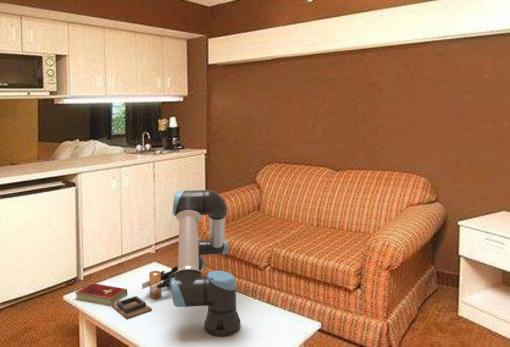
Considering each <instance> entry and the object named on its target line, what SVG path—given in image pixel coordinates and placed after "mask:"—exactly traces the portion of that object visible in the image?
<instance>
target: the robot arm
mask: <svg viewBox="0 0 510 347" xmlns="http://www.w3.org/2000/svg"><path fill="white" fill-rule="evenodd" d="M172 203H173V204H172V215H173V216H174V217H175V219H176V220H177V221H178V222H179V224H178V255H177V256H178V257H177V259H178V260H177V261H178V262H177V265H175V266H173V267H172V268H171V270H170V271H166V272H165V270H162V271H160V272H161V282H159V283H157V284H155V285H152V286H151V292H153V291H155V290H158V289H160V288H161V289H162V288H165V287H166V288H170V290H171V291H170V292H171V298H172V303H173V304H172V305H173V306H175V307H176V308H190V307H207V308H208V309H207V314H206V317H205V320H204V321H203V322H204V323H203V324H204V325H203V328H204V331H205V332H206V333H207V334H208V335H210V336H214V337H228V336H232V335H234V334H236V333H238V332H239V331H240V330H241V319H240V315H239V313H238V311H237V291H236V290H237V284H236V283H237V281H236V280H237V279H236V277H235V276H234V275H233V274H232V273H231V272H227V271H225V270H213V271H209V272H208V273H207V276H203V272H202V270H203V269H205V266H206V263H205V260H204V258H203V257H202V256H206V255H208V256H209V255H226V254H228V252H229V249H228V247H229V246H228V240H226V239H225V231H226V230H225V226H226V223H225V222H226V220H225V219H226V218H227V215H228V206H227V203H226V201H225V199H224V198H223V196H221V195H220V194H219V193H218V192H216V191H214V190H210V189H205V190H204V189H199V190H197V189H196V190H187V189H186V190H178V191H177V192H175V194H174V198H173V202H172ZM203 216H208V217H209V240H201V237H199V222H200V221H201V220H202V217H203ZM146 288H150V282H149V279H148V280H146V281H144V282H142V283H141V289H142V290H144V289H146Z"/></svg>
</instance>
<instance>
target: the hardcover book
mask: <svg viewBox="0 0 510 347" xmlns="http://www.w3.org/2000/svg"><path fill="white" fill-rule="evenodd" d="M74 294H75V295H76V296H75V297H76V300H79V301H80V300H81V301H85V302H86V301H87V302H90V301H91V303H97V304H101V305H107V306H112V304H115V303H117V302H119V301H121V300H122V299H123V298H125V297H126V296H128V289H127V288H123V287H117V286H111V285H105V284H100V283H95V282H94V283H93V282H91V283H89V284H87V285H86V286H84V287H82V288H80V289H78V290H77V291H75V292H74Z"/></svg>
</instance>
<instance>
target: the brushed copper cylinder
mask: <svg viewBox="0 0 510 347" xmlns="http://www.w3.org/2000/svg"><path fill="white" fill-rule="evenodd" d="M161 272H162V271H160V270H154V271H153V270H151V271H150V272H149V273H148V274H149V275H148V277H149V279H148V280H149V282H150V286H149V297H150V299H152V300H157V299H160V298H162V291H163V290H162V288H160V289H158V290H155V291H153V292H151V286H152V285H155V284H157V283H159V282H162V281H161Z"/></svg>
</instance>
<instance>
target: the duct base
mask: <svg viewBox="0 0 510 347" xmlns="http://www.w3.org/2000/svg"><path fill="white" fill-rule="evenodd" d="M111 308H113V309H114V310H115V311H117V313H119V314H120V315H121V316H123V318H124V319H126V320H129V319H132V318H135V317H138V316H140V315H144V314H146V313H149V312H152V311H153V308H152V307H150V306H149V305H148V304H147V303H146V301H144V300H142V298H140V297H139V296H137V295H136V296H132V297H128V298H126V299H123V300H122V299H121V300H119V301H117V302H116V303H114V304H112V305H111Z"/></svg>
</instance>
